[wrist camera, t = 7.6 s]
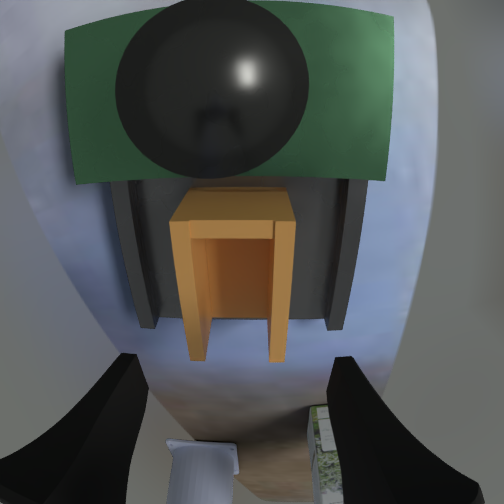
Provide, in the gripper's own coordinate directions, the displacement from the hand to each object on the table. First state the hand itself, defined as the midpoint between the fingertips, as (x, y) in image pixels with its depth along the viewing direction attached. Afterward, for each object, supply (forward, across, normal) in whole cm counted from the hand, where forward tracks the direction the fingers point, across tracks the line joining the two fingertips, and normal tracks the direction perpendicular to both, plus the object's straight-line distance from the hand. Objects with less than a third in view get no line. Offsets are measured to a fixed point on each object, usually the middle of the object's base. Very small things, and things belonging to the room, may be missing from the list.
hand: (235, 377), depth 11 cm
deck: (+9, +1, -4) cm, 10 cm away
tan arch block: (+8, 0, 0) cm, 9 cm away
